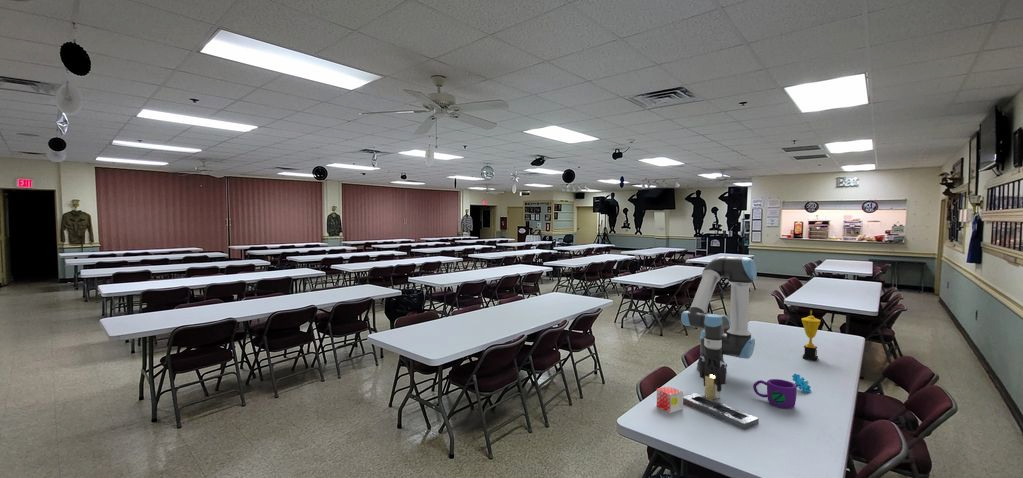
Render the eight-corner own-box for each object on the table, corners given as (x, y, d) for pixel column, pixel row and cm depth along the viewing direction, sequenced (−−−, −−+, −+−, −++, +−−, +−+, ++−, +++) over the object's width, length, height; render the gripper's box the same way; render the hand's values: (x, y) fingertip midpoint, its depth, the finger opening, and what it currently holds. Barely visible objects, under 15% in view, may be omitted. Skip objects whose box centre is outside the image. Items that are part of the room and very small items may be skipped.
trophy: (818, 364, 248) (819, 313, 247) (798, 360, 255) (799, 311, 254) (821, 356, 263) (822, 308, 262) (802, 353, 269) (803, 306, 268)
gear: (804, 392, 202) (790, 373, 209) (794, 397, 206) (781, 378, 212) (817, 391, 207) (803, 372, 214) (807, 396, 211) (793, 378, 217)
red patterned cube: (670, 412, 184) (670, 395, 184) (656, 406, 191) (656, 388, 191) (683, 409, 188) (683, 391, 188) (669, 402, 195) (669, 385, 195)
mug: (798, 404, 192) (799, 383, 192) (793, 412, 184) (793, 390, 184) (756, 394, 204) (756, 373, 204) (749, 400, 196) (749, 379, 196)
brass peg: (704, 396, 202) (705, 375, 201) (711, 394, 204) (711, 374, 204) (713, 399, 198) (713, 378, 197) (719, 397, 200) (719, 377, 200)
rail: (681, 402, 195) (681, 397, 195) (695, 398, 199) (695, 393, 199) (744, 429, 169) (744, 423, 168) (758, 424, 173) (758, 418, 173)
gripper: (691, 343, 206) (691, 390, 207) (725, 353, 191) (724, 404, 191) (701, 341, 210) (701, 387, 210) (735, 350, 194) (734, 400, 195)
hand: (712, 395), depth 201 cm, fingers closed on brass peg, 4 cm apart
